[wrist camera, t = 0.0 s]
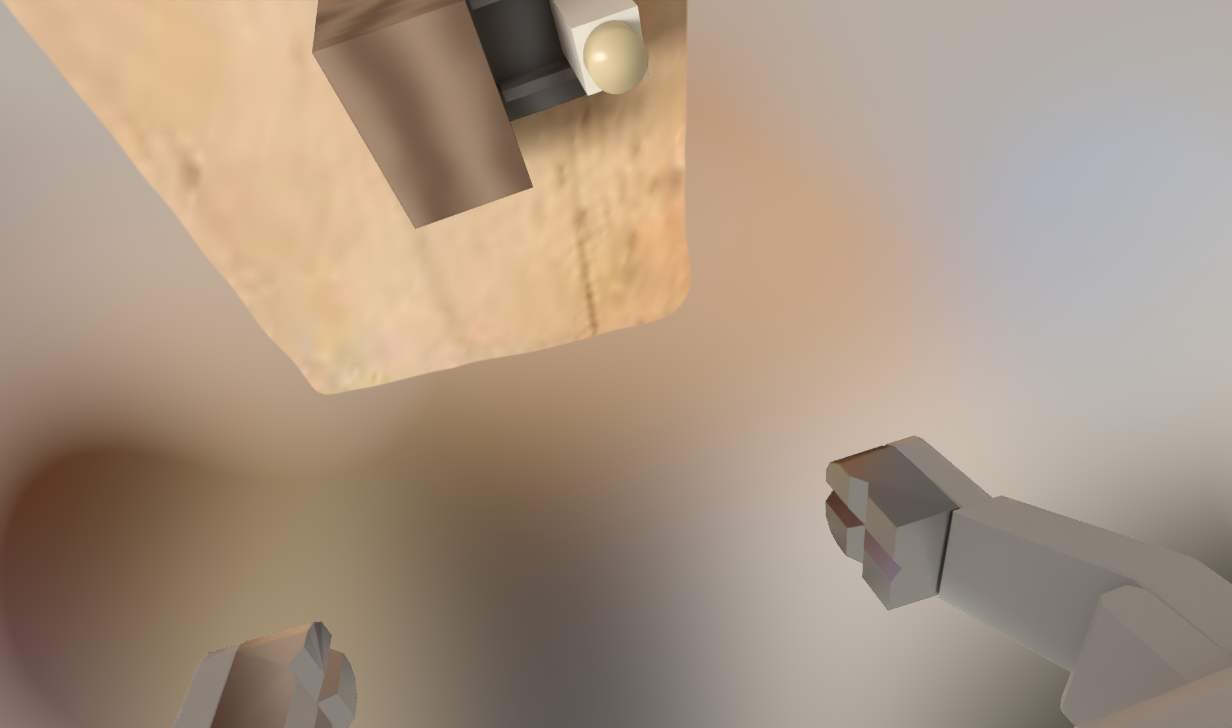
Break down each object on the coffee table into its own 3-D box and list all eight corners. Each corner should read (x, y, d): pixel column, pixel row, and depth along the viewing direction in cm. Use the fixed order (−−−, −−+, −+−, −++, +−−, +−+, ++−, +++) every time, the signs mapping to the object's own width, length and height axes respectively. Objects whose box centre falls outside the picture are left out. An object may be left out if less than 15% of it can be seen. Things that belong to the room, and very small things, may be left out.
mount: (597, -109, 46) (650, -64, 38) (630, 71, 57) (677, 135, 49) (320, -14, 46) (312, 52, 37) (406, 149, 56) (415, 228, 48)
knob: (603, -32, 48) (646, 15, 41) (616, 32, 52) (656, 85, 45) (545, -12, 48) (578, 39, 41) (562, 51, 52) (594, 107, 45)
